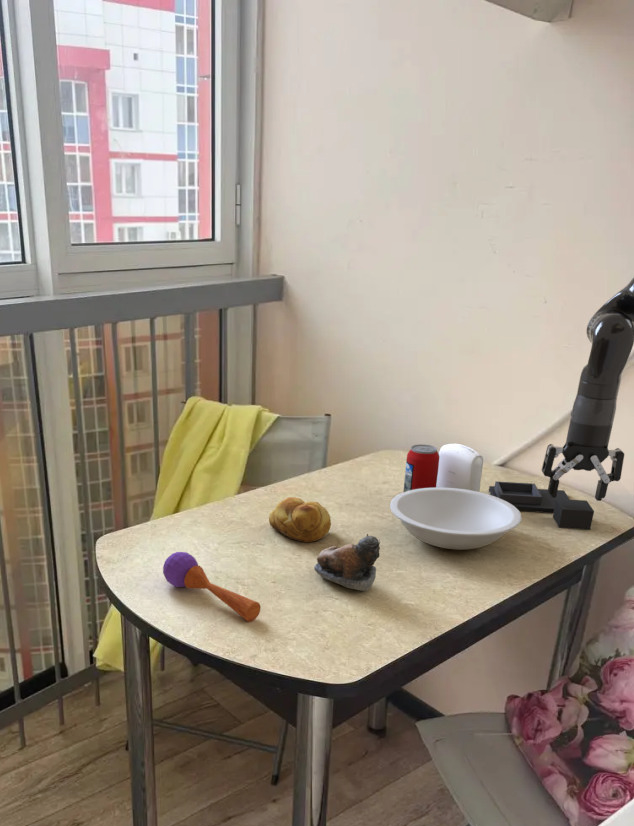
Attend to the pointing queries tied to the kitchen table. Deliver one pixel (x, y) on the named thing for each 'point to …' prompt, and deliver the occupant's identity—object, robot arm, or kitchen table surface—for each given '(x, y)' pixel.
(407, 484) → the beverage can
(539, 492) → the base pad
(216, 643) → the kitchen table surface
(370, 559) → the bison figurine
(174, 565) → the purple toy maraca
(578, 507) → the black block
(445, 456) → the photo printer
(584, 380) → the robot arm
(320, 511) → the bread roll
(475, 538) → the soup bowl
